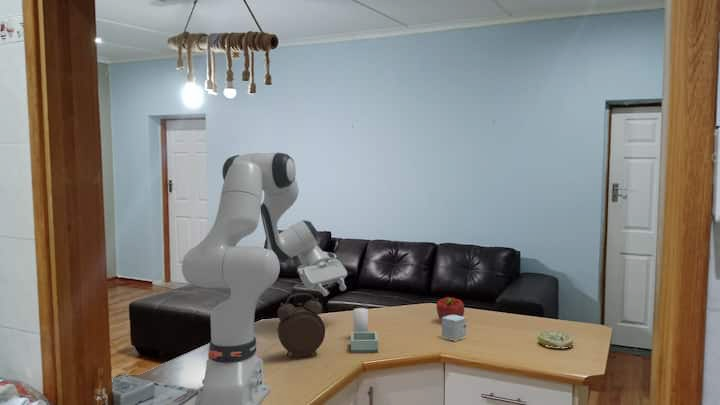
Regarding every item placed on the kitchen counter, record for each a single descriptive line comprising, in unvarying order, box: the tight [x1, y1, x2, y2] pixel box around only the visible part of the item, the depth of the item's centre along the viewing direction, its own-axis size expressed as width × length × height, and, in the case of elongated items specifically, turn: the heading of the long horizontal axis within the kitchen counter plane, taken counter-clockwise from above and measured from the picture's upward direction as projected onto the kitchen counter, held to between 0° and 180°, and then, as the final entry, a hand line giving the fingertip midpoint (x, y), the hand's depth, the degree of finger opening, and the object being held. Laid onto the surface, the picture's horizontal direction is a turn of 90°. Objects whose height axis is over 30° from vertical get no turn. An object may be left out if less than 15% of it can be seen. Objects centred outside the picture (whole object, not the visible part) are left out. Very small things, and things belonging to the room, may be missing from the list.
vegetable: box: [436, 296, 465, 322], centre depth 198 cm, size 11×10×10 cm
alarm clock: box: [276, 292, 326, 359], centre depth 165 cm, size 14×7×20 cm, turn 111°
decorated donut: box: [537, 330, 574, 348], centre depth 173 cm, size 10×11×4 cm
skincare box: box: [441, 314, 467, 340], centre depth 181 cm, size 6×6×7 cm
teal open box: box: [350, 331, 379, 354], centre depth 172 cm, size 9×9×4 cm
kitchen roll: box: [352, 307, 369, 332], centre depth 181 cm, size 5×5×10 cm
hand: (335, 292), depth 188 cm, fingers open, 8 cm apart
